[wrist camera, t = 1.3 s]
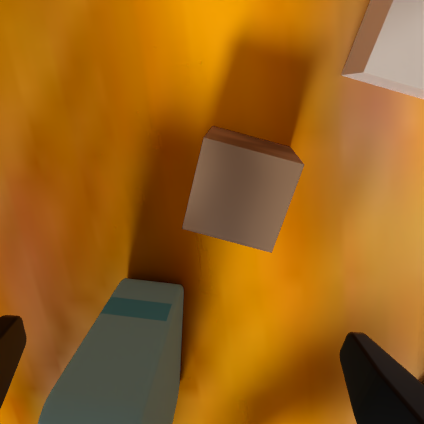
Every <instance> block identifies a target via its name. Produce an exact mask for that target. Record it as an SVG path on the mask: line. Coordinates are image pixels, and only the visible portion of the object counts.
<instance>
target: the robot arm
mask: <svg viewBox="0 0 424 424" xmlns="http://www.w3.org/2000/svg"><path fill="white" fill-rule="evenodd" d="M25 345H26V334H25V329H24V325H23V321H22V318H21V317H20V316H13V315H4V316H2V317H0V408H1V406H2V404H3V401H4V399H5V396H6V394H7V391H8V389H9V386H10V384H11V381H12V378H13V376H14V373H15V371H16V368H17V366H18V363H19V361H20V358H21V355H22V353H23V350H24V348H25ZM340 361H341V365H342V369H343V373H344V377H345V381H346V385H347V389H348V393H349V397H350V401H351V405H352V409H353V413H354V416H355V419H356V422H357V424H424V384H422V383H421V382H420V381H419V380H417V379H416V378H415V377H414V376H413V375H412V374H411V373H409V372H408V371H407V370H406V369H405V368H404V367H403V366H401V365H400V364H399V363H398V362H397V361H396V360H394V359H393V358H392V357H391V356H390V355H389V354H388V353H386V352H385V351H384V350H383V349H382V348H381V347H380V346H378V345H377V344H376V343H375V342H374V341H373V340H372V339H370V338H369V337H368V336H367V335H366V334H364V333H358V332H350V333H348V334H347V336H346V339H345V341H344V343H343V345H342V348H341V350H340Z"/></svg>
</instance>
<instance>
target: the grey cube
mask: <svg viewBox="0 0 424 424" xmlns="http://www.w3.org/2000/svg"><path fill="white" fill-rule="evenodd" d="M303 167H304V164H303V162H302V161H301V160H300V159H299V157H298V156H297V155H296V154H295V152H294V151H293V150H292V149H291V147H289V146H285V145H281V144H278V143H274V142H270V141H267V140H263V139H259V138H256V137H252V136H248V135H245V134H241V133H237V132H234V131H230V130H226V129H223V128H219V127H215V126H212V127H211V129H210V130H209V131H208V133H207V134H206V135H205V136H204V138H203V143H202V147H201V151H200V155H199V159H198V164H197V168H196V172H195V176H194V180H193V185H192V189H191V193H190V197H189V201H188V206H187V210H186V214H185V218H184V222H183V227H182V229H185V230H189V231H192V232H196V233H200V234H204V235H207V236H211V237H215V238H219V239H222V240H226V241H230V242H233V243H237V244H241V245H245V246H248V247H252V248H256V249H260V250H263V251H267V252H271V253H272V250H273V248H274V245H275V242H276V239H277V237H278V234H279V231H280V229H281V226H282V223H283V221H284V218H285V215H286V213H287V210H288V207H289V204H290V202H291V199H292V196H293V194H294V191H295V188H296V186H297V183H298V180H299V178H300V175H301V172H302V169H303Z"/></svg>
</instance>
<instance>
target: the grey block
mask: <svg viewBox="0 0 424 424" xmlns="http://www.w3.org/2000/svg"><path fill="white" fill-rule="evenodd" d="M341 75H342V76H345V77H349V78H352V79H356V80H359V81H362V82H366V83H369V84H373V85H376V86H380V87H383V88H386V89H390V90H393V91H397V92H400V93H404V94H407V95H410V96H414V97H417V98H421V99H424V0H370V3H369V5H368V8H367V10H366V13H365V15H364V18H363V21H362V23H361V26H360V28H359V31H358V33H357V36H356V38H355V41H354V44H353V46H352V49H351V51H350V54H349V56H348V59H347V61H346V64H345V67H344V69H343V72H342V74H341Z"/></svg>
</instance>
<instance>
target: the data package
mask: <svg viewBox="0 0 424 424" xmlns="http://www.w3.org/2000/svg"><path fill="white" fill-rule="evenodd" d="M183 300H184V289H183V286H182V285H180V284H171V283H163V282H154V281H146V280H137V279H128V278H125V279H123V280H122V281H121V282H120V283H119V285H118V286H117V288H116V290H115V291H114V293H113V294H112V296H111V297H110V299H109V301H108V302H107V304H106V305H105V307H104V308H103V310H102V312H101V313H100V315H99V316H98V318H97V320H96V321H95V323H94V324H93V326H92V327H91V329H90V331H89V332H88V334H87V335H86V337H85V338H84V340H83V342H82V343H81V345H80V346H79V348H78V349H77V351H76V353H75V354H74V356H73V357H72V359H71V361H70V362H69V364H68V365H67V367H66V368H65V370H64V372H63V373H62V375H61V376H60V378H59V379H58V381H57V383H56V384H55V386H54V387H53V389H52V391H51V392H50V394H49V396H48V398H47V400H46V402H45V404H44V407H43V409H42V412H41V415H40V418H39V422H38V424H172V422H173V418H174V413H175V408H176V403H177V398H178V391H179V383H180V364H181V342H182V321H183Z"/></svg>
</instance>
